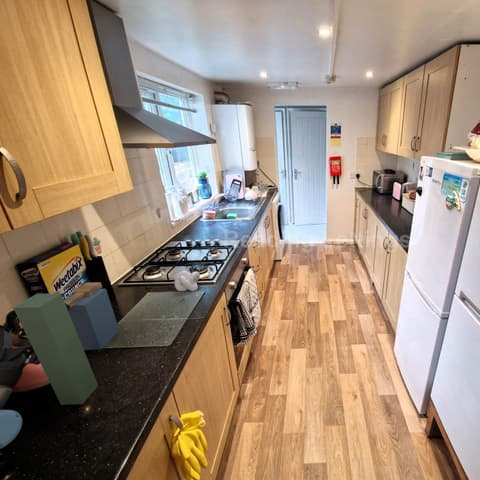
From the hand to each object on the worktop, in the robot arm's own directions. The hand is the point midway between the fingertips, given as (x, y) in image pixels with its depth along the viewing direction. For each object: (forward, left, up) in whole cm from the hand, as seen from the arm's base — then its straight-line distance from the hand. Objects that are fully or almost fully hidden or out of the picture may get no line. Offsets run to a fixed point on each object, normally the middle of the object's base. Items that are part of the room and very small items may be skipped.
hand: (45, 305), depth 79 cm
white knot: (+20, +48, -25) cm, 58 cm away
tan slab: (+1, +8, -4) cm, 9 cm away
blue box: (+1, +11, -24) cm, 27 cm away
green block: (+12, -12, -24) cm, 30 cm away
